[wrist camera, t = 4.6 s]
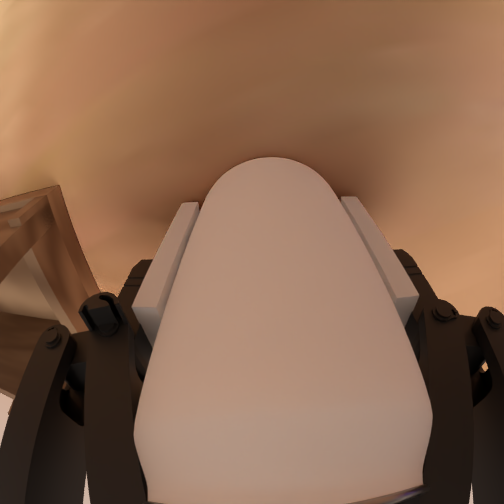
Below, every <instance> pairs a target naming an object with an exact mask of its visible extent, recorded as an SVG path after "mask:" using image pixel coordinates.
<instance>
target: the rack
mask: <svg viewBox="0 0 504 504" xmlns="http://www.w3.org/2000/svg"><path fill="white" fill-rule="evenodd" d="M98 293H100V291H99V289H98V287H97V284H96V282H95V280H94V278H93V276H92V273H91V271H90V269H89V267H88V264H87V262H86V260H85V257H84V255H83V252H82V250H81V247H80V245H79V242H78V240H77V237H76V234H75V232H74V229H73V226H72V223H71V221H70V218H69V215H68V212H67V209H66V206H65V203H64V200H63V197H62V193H61V190H60V187H59V185H58V186H53V187H49V188H45V189H41V190H37V191H33V192H29V193H25V194H22V195H18V196H14V197H11V198H7V199H4V200H1V201H0V393H2V394H4V395H6V396H8V397H10V398H12V399H15V396H16V393H17V390H18V387H19V385H20V382H21V380H22V377H23V374H24V372H25V369H26V367H27V365H28V362H29V360H30V358H31V355H32V353H33V351H34V348H35V346H36V344H37V342H38V340H39V338H40V336H41V335H42V333H43V332H44V331H45V330H46V329H47V328H49V327H51V326H53V325H57V324H61V325H65V326H66V327H67V328H68V329H69V331H70V332H71V334H74V333H78V332H83V331H88V330H89V329H88V328H87V326H86V325H85V323H84V321H83V320H82V318H81V316H80V314H79V313H78V311H79V308H80V306H81V305H82V304H83V302H84V301H85V300H86V299H88V298H89V297H91V296H92V295H95V294H98ZM66 384H67V383H66V382H65V381H64V384H63V387H62V389H64V388H65V386H66ZM13 402H14V400H13ZM13 402H12V405H13ZM12 405H11V407H10V410H9V412H8V415H9V414H10V411H11V408H12Z"/></svg>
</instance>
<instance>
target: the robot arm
mask: <svg viewBox="0 0 504 504" xmlns="http://www.w3.org/2000/svg"><path fill="white" fill-rule="evenodd" d="M340 203H341V204H342V206H343V208H344V209H345V211H346V213H347V214H348V216H349V218H350V220H351V221H352V223H353V225H354V227H355V228H356V230H357V232H358V234H359V236H360V237H361V239H362V241H363V243H364V245H365V247H366V249H367V250H368V252H369V254H370V256H371V258H372V260H373V262H374V264H375V266H376V268H377V270H378V272H379V274H380V276H381V278H382V280H383V282H384V284H385V286H386V288H387V291H388V293H389V295H390V297H391V299H392V301H393V304H394V306H395V308H396V310H397V313H398V315H399V317H400V319H401V322H402V324H403V326H404V329H405V331H406V334H407V336H408V339H409V341H410V344H411V346H412V349H413V351H414V354H415V357H416V359H417V362H418V365H419V368H420V370H421V373H422V376H423V379H424V382H425V386H426V389H427V392H428V396H429V399H430V403H431V408H432V414H433V419H432V428H431V434H430V439H429V443H428V447H427V451H426V455H425V459H424V464H423V471H422V474H423V484H424V485H428V486H429V491H428V492H426V493H424V494H422V495H419V496H417V497H414V498H412V499H409V500H406V501H403V502H400V503H397V504H469V499H470V491H471V482H472V490H473V503H474V504H504V315H503V314H502V313H501V312H500V311H498V310H497V309H495V308H493V307H484V308H482V309H481V310H480V311H479V313H478V315H477V317H471V316H464V315H459V313H458V311H457V310H456V308H455V307H454V306H453V305H452V304H450V303H448V302H447V301H444V300H441V299H438V298H437V296H436V295H435V293H434V291H433V289H432V288H431V286H430V285H429V283H428V281H427V280H426V278H425V276H424V275H422V272H421V270H420V269H419V267H417V264H416V262H415V261H414V259H413V258H412V257H411V256H410V255H409V254H408V253H406V252H405V251H404V250H402V249H399V250H392V248H391V247H390V245H389V243H388V242H387V240H386V239H385V237H384V236H383V234H382V233H381V231H380V230H379V228H378V227H377V225H376V224H375V222H374V221H373V219H372V218H371V216H370V215H369V213H368V212H367V211H366V209H365V208H364V206H363V205H362V203H361V202H360V201H359V199H358V198H357V197H341V202H340ZM199 213H200V210H199V204H198V202H187V203H182V204H181V206H180V208H179V210H178V211H177V213H176V215H175V217H174V219H173V221H172V223H171V225H170V227H169V229H168V231H167V233H166V234H165V236H164V238H163V240H162V242H161V244H160V246H159V248H158V250H157V253H156V255H155V257H154V259H152V260H141V261H140V262H139V263H138V264H137V265H136V266H134V267H133V269H132V270H131V272H130V274H129V276H128V279H127V280H126V282H125V284H124V287H123V288H122V290H121V292H120V294H119V296H118V298H117V297H116V296H115V295H114V294H112V293H109V292H102V293H98V294H95V295H92V296H91V297H89V298H88V299H86V300H85V301H84V302H83V304H82V305H81V306H80V308H79V311H78V313H79V314H80V316H81V318H82V320H83V321H84V323H85V325H86V326H87V328H88V329H89V330H88V331H83V332H78V333H74V334H71V332H70V331H69V329H68V328H67V327H66V326H65V325H61V324H57V325H53V326H51V327H49V328H47V329H46V330H45V331H44V332H43V333H42V335H41V336H40V338H39V340H38V342H37V344H36V346H35V348H34V351H33V353H32V355H31V358H30V360H29V362H28V365H27V367H26V369H25V372H24V374H23V377H22V380H21V382H20V385H19V387H18V390H17V393H16V396H15V399H14V402H13V405H12V408H11V411H10V414H9V417H8V420H7V424H6V427H5V431H4V435H3V439H2V442H1V446H0V504H83V496H84V487H85V479H86V471H87V479H88V488H89V496H90V503H91V504H142V503H143V502H147V501H148V487H147V482H146V479H145V475H144V472H143V469H142V466H141V463H140V460H139V457H138V453H137V450H136V446H135V442H134V425H135V418H136V414H137V409H138V404H139V399H140V395H141V391H142V387H143V383H144V380H145V376H146V372H147V368H148V364H149V361H150V357H151V354H152V350H153V347H154V343H155V340H156V337H157V333H158V330H159V327H160V323H161V320H162V317H163V314H164V311H165V307H166V304H167V301H168V298H169V295H170V292H171V289H172V286H173V283H174V280H175V277H176V275H177V272H178V269H179V266H180V263H181V260H182V258H183V255H184V252H185V249H186V247H187V244H188V241H189V238H190V236H191V233H192V231H193V228H194V225H195V223H196V220H197V218H198V215H199ZM485 361H486V363H487V366H488V369H487V371H486V372H485V371H484V370H483V368H482V365H483V364H484V363H485ZM64 381H65V382H66V383H67V384H66V386H65V388H64V389H62V387H63V384H64Z"/></svg>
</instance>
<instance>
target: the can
mask: <svg viewBox="0 0 504 504" xmlns="http://www.w3.org/2000/svg"><path fill="white" fill-rule="evenodd" d="M432 419H433V414H432V408H431V403H430V399H429V396H428V392H427V389H426V386H425V382H424V379H423V376H422V373H421V370H420V368H419V365H418V362H417V359H416V357H415V354H414V351H413V349H412V346H411V344H410V341H409V339H408V336H407V334H406V331H405V329H404V326H403V324H402V322H401V319H400V317H399V315H398V313H397V310H396V308H395V306H394V304H393V301H392V299H391V297H390V295H389V293H388V291H387V288H386V286H385V284H384V282H383V280H382V278H381V276H380V274H379V272H378V270H377V268H376V266H375V264H374V262H373V260H372V258H371V256H370V254H369V252H368V250H367V249H366V247H365V245H364V243H363V241H362V239H361V237H360V236H359V234H358V232H357V230H356V228H355V227H354V225H353V223H352V221H351V220H350V218H349V216H348V214H347V213H346V211H345V209H344V208H343V206H342V204H341V203H340V201H339V199H338V198H337V196H336V195H335V193H334V191H333V190H332V188H331V187H330V186H329V184H328V183H327V182H326V181H325V180H324V179H323V177H322V176H320V175H319V174H318V173H317V172H316V171H314V170H313V169H311V168H310V167H308V166H306V165H304V164H302V163H300V162H297V161H294V160H290V159H286V158H279V157H265V158H257V159H253V160H249V161H246V162H243V163H241V164H239V165H237V166H235V167H233V168H232V169H230V170H229V171H227V172H226V173H225V174H223V175H222V176H221V177H220V178H219V179H218V180H217V181H216V182H215V184H214V185H213V186H212V188H211V189H210V191H209V193H208V194H207V196H206V199H205V201H204V203H203V205H202V208H201V210H200V213H199V215H198V218H197V220H196V223H195V225H194V228H193V231H192V233H191V236H190V238H189V241H188V244H187V247H186V249H185V252H184V255H183V258H182V260H181V263H180V266H179V269H178V272H177V275H176V277H175V280H174V283H173V286H172V289H171V292H170V295H169V298H168V301H167V304H166V307H165V311H164V314H163V317H162V320H161V323H160V327H159V330H158V333H157V337H156V340H155V343H154V347H153V350H152V354H151V357H150V361H149V364H148V368H147V372H146V376H145V380H144V383H143V387H142V391H141V395H140V399H139V404H138V409H137V414H136V418H135V425H134V442H135V446H136V450H137V453H138V457H139V460H140V463H141V466H142V469H143V472H144V475H145V479H146V482H147V487H148V501H147V502H143V503H142V504H397V503H400V502H403V501H406V500H409V499H412V498H414V497H417V496H419V495H422V494H424V493H426V492H428V491H429V486H428V485H424V484H423V474H422V471H423V464H424V459H425V455H426V451H427V447H428V443H429V439H430V434H431V428H432Z"/></svg>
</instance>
